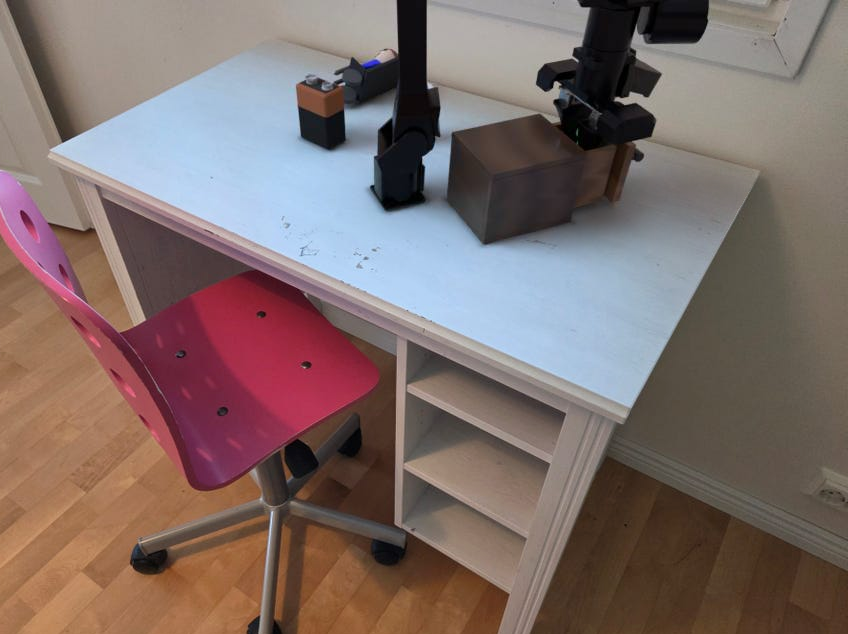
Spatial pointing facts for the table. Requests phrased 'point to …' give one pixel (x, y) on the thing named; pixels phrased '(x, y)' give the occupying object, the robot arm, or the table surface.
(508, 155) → the cabinet
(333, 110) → the battery
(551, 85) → the robot arm
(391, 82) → the character figurine
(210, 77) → the table surface
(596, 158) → the drawer
